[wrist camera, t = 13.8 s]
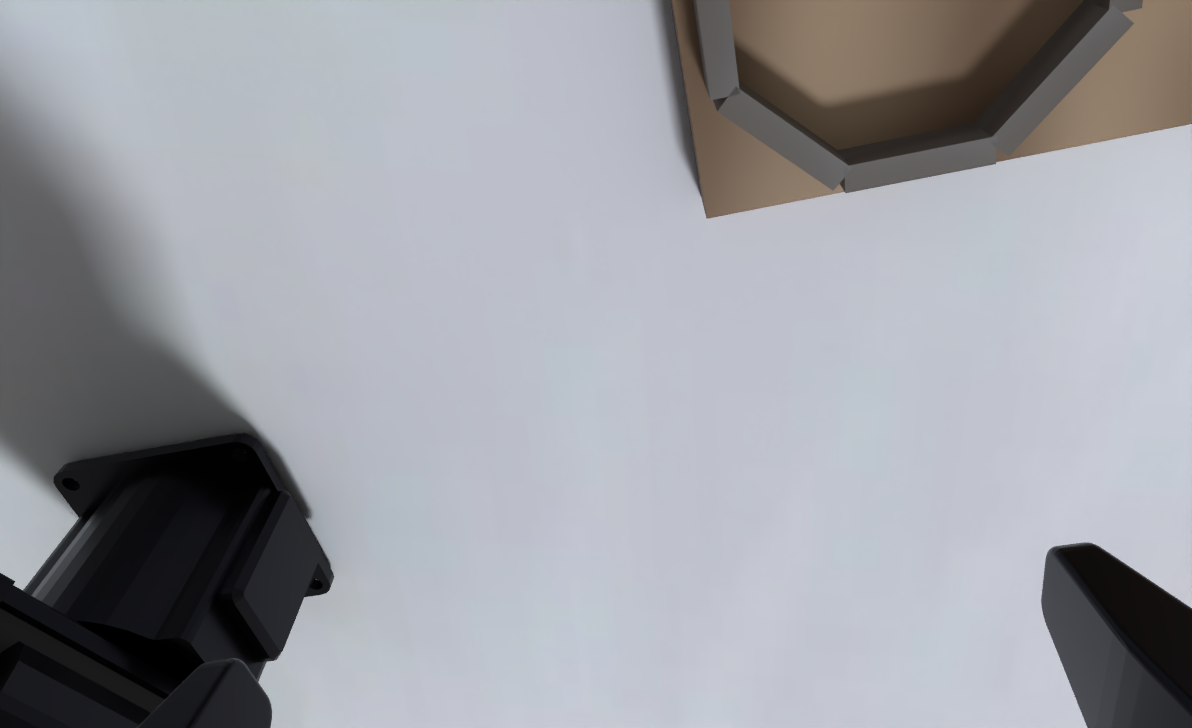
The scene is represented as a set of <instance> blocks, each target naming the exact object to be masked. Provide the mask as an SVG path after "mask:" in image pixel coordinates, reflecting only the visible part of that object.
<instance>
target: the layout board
mask: <svg viewBox="0 0 1192 728" xmlns="http://www.w3.org/2000/svg"><path fill="white" fill-rule="evenodd" d="M671 5H672V12H673V18H674V25H675V31H676V37H677V44H678V50H679V56H680V63H681V69H682V76H683V82H684V88H685V95H686V101H687V107H688V114H689V120H690V127H691V133H692V139H693V146H694V152H695V158H696V165H697V171H698V177H699V184H700V190H701V197H702V202H703V206H704V210H705V214H706V218H712V217H718V216H723V215H728V214H733V213H738V212H743V211H748V210H753V209H758V208H764V207H769V206H774V205H779V204H784V203H789V202H794V201H799V200H805V199H810V198H815V197H820V196H825V195H830V194H835V193H840V192H845V193H849V192H854V191H859V190H864V189H869V188H875V187H880V186H885V185H890V184H895V183H900V182H905V181H910V180H916V179H921V178H926V177H931V176H936V175H941V174H946V173H951V172H957V171H962V170H967V169H972V168H977V167H982V166H987V165H993V164H996V162H999V161H1004V160H1009V159H1014V158H1020V157H1025V156H1030V155H1035V154H1040V153H1045V152H1050V151H1055V150H1060V149H1066V148H1071V147H1076V146H1081V145H1086V144H1091V143H1096V142H1101V141H1107V140H1112V139H1117V138H1122V137H1127V136H1132V135H1137V134H1142V133H1147V132H1153V131H1158V130H1163V129H1168V128H1173V127H1178V126H1183V125H1188V124H1192V0H671Z"/></svg>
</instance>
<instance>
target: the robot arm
mask: <svg viewBox="0 0 1192 728" xmlns="http://www.w3.org/2000/svg"><path fill="white" fill-rule="evenodd" d="M239 449H243V450H245V451H246V452H247V453H243V452H241V451H240V450H239ZM75 480H76V481H75ZM54 484H55V486H56V487H57V489H58V490H59V491H60V493H61V494H62V495H63V497H64V498H65V499H66V501H67V502H68V503H69V505H70V506H71V507H72V509H73V510H74V511H75V513H76V514H77V515H78V517H79V519H78V520H77V522H76V523H75V524H74V526H73V527H72V528H71V529H70V531H69V532H68V533H67V535H66V536H65V537H64V538H63V540H62V541H61V542H60V544H59V545H58V546H57V548H56V549H55V550H54V551H53V553H52V554H51V555H50V557H49V558H48V559H47V560H46V562H45V563H44V564H43V566H42V567H41V568H40V569H39V571H38V572H37V573H36V575H35V576H34V577H33V578H32V580H31V581H30V582H29V584H28V585H27V586H26V588H25V589H24V590H23V591H22V590H21V589H19V588H17V587H15V586H14V585H13V584H14V583H15V581H13V580H12V579H10V578H8V577H6V576H5V575H3V574H1V573H0V728H270V727H271V720H272V709H271V703H270V700H269V698H268V696H267V695H266V693H265V692H264V690H263V689H262V687H261V686H260V684H259V683H258V681H259V678H260V676H261V674H262V671H263V669H264V666H265V664H266V662H267V661H274V660H277V658H278V657H279V655H280V654H281V652H282V651H283V648H284V646H285V644H286V641H287V639H288V636H289V634H290V631H291V629H292V626H293V624H294V621H295V619H296V616H297V614H298V611H299V609H300V606H301V604H302V601H303V599H304V597H308V596H315V595H321V594H325V593H327V592H328V591H329V590H330V587H331V584H332V582H333V579H334V575H333V572H332V570H331V569H330V567H329V565H328V563H327V561H326V560H325V558H324V556H323V554H322V549H321V547H320V546H319V544H318V542H317V540H316V538H315V537H314V535H313V533H312V531H311V529H310V528H309V526H308V524H307V522H306V520H305V519H304V517H303V515H302V513H301V511H300V510H299V508H298V506H297V504H296V502H295V501H294V499H293V497H292V496H291V495H290V494H289V493H288V491H287V490H286V488H285V486H284V484H283V482H282V481H281V479H280V477H279V475H278V473H277V472H276V470H275V468H274V466H273V464H272V463H271V461H270V459H269V457H268V455H267V454H266V452H265V450H264V448H263V446H262V445H261V443H260V442H259V441H258V440H257V439H256V438H254V437H253V436H251V435H248V434H233V435H227V436H221V437H216V438H210V439H204V440H198V441H193V442H187V443H181V444H175V445H170V446H164V447H158V448H152V449H147V450H141V451H135V452H130V453H124V454H118V455H112V456H107V457H101V458H95V459H89V460H84V461H78V462H72V463H68V464H65V465H64V466H63V467H62V468H61V469H60V470H59V472H58V473H57V474H56V475H55V476H54ZM316 579H317V580H316ZM1041 603H1042V611H1043V615H1044V619H1045V622H1046V625H1047V627H1048V630H1049V632H1050V635H1051V637H1052V640H1053V642H1054V645H1055V647H1056V650H1057V652H1058V655H1059V657H1060V660H1061V662H1062V665H1063V667H1064V670H1065V672H1066V675H1067V677H1068V680H1069V682H1070V685H1071V687H1072V690H1073V692H1074V695H1075V697H1076V700H1077V702H1078V705H1079V707H1080V710H1081V712H1082V715H1083V717H1084V720H1085V722H1086V725H1087V727H1088V728H1192V608H1190V607H1189V606H1187V605H1186V604H1184V603H1183V602H1181V601H1180V600H1178V599H1177V598H1175V597H1174V596H1172V595H1171V594H1169V593H1168V592H1166V591H1165V590H1163V589H1162V588H1161V587H1159V586H1158V585H1156V584H1155V583H1153V582H1152V581H1150V580H1149V579H1147V578H1146V577H1144V576H1143V575H1141V574H1140V573H1138V572H1137V571H1135V570H1134V569H1132V568H1131V567H1129V566H1128V565H1126V564H1125V563H1123V562H1122V561H1120V560H1119V559H1117V558H1116V557H1114V556H1113V555H1111V554H1110V553H1108V552H1107V551H1105V550H1104V549H1102V548H1101V547H1099V546H1097V545H1095V544H1092V543H1077V544H1069V545H1062V546H1055V547H1052V548H1051V549H1050V550H1049V551H1048V553H1047V556H1046V561H1045V571H1044V580H1043V589H1042V598H1041Z"/></svg>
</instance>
